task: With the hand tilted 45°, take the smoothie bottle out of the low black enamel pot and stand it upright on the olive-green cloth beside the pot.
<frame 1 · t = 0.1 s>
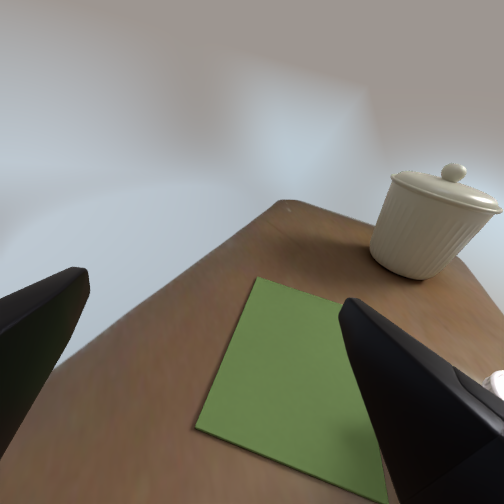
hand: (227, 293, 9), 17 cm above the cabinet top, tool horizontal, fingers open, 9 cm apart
canister: (397, 265, 54), on the cabinet top
cloth: (298, 351, 29), on the cabinet top
smoothie: (455, 477, 21), resting in pot
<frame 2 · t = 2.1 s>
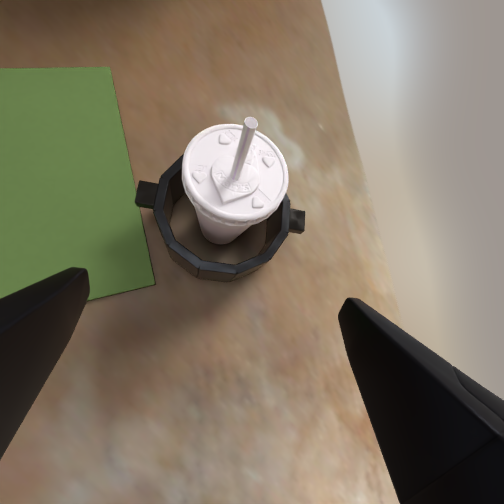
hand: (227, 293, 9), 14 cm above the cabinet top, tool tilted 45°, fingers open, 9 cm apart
cloth: (35, 179, 21), on the cabinet top
smoothie: (220, 226, 24), resting in pot
pot: (220, 225, 24), on the cabinet top
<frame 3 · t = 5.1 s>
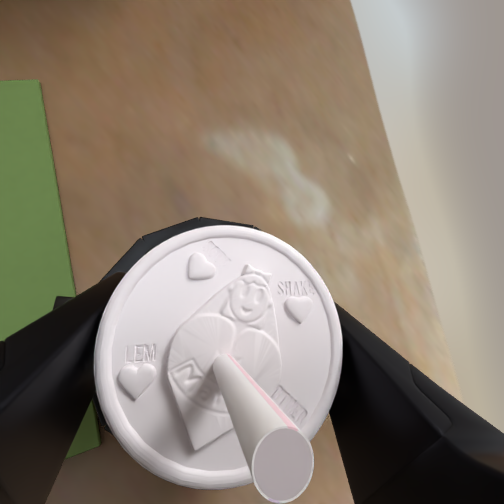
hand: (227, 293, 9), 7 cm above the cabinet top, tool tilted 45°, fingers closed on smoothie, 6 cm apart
smoothie: (208, 325, 16), resting in pot, touching gripper
pot: (208, 325, 16), on the cabinet top
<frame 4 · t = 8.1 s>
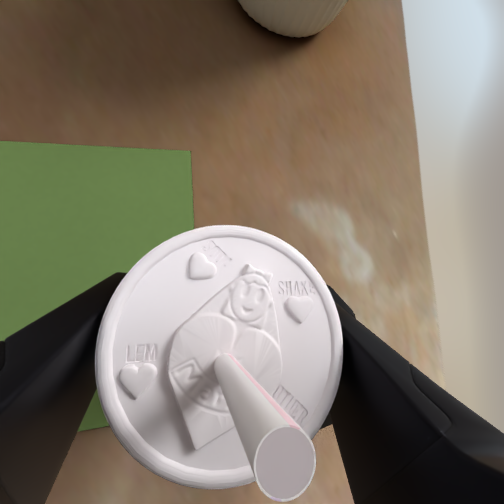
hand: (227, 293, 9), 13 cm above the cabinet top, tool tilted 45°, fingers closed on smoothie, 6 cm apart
canister: (280, 4, 31), on the cabinet top
cloth: (98, 272, 20), on the cabinet top
smoothie: (208, 325, 16), point 6 cm above the cabinet top, touching gripper
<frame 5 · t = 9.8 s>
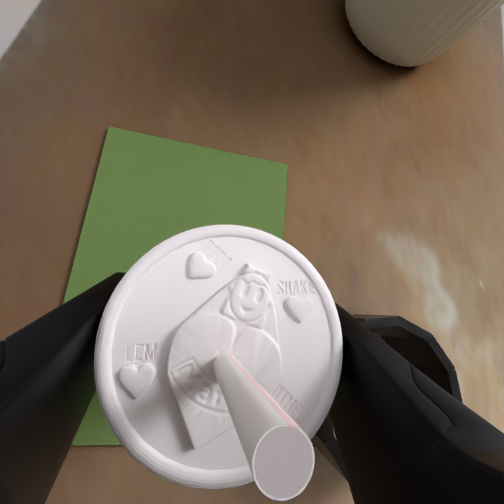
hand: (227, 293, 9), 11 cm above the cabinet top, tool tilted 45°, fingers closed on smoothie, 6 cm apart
canister: (385, 31, 31), on the cabinet top
cloth: (185, 275, 19), on the cabinet top
smoothie: (208, 325, 16), point 3 cm above the cabinet top, touching gripper
pot: (353, 382, 20), on the cabinet top
when the fingers open (8 cm above the cabinet top, at t = 11.2 s): smoothie stays where it is, resting on cloth.
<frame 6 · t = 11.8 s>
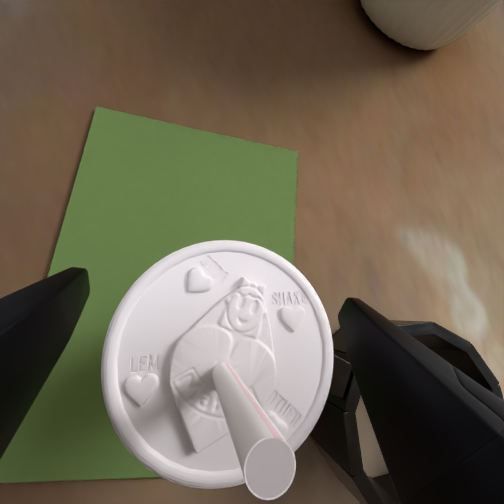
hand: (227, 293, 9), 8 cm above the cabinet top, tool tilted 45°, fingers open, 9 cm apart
canister: (399, 13, 29), on the cabinet top
cloth: (183, 275, 17), on the cabinet top
smoothie: (207, 329, 16), resting on cloth
pot: (375, 398, 18), on the cabinet top
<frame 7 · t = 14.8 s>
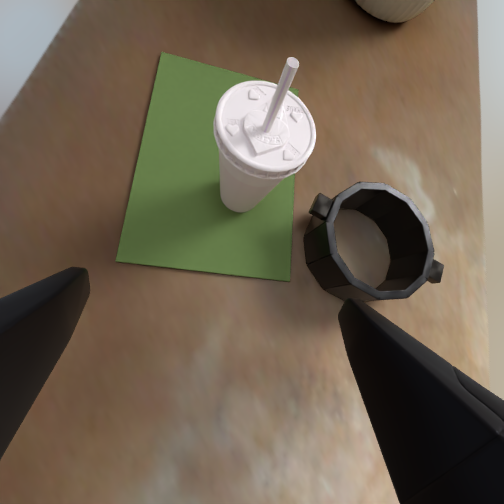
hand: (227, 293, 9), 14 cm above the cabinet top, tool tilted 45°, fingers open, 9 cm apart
cloth: (222, 162, 25), on the cabinet top
smoothie: (239, 195, 25), resting on cloth
pot: (351, 249, 26), on the cabinet top
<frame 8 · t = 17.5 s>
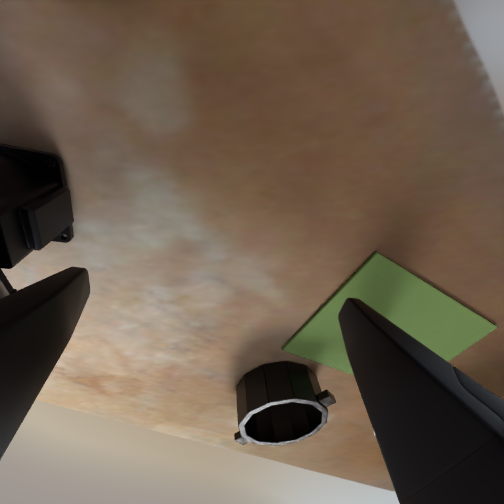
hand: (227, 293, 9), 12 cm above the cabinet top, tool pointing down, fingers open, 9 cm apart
cloth: (391, 336, 30), on the cabinet top
pot: (276, 386, 34), on the cabinet top
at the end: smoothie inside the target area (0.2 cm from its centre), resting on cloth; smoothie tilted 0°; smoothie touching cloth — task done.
